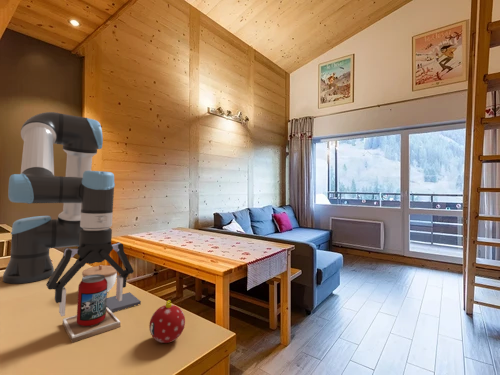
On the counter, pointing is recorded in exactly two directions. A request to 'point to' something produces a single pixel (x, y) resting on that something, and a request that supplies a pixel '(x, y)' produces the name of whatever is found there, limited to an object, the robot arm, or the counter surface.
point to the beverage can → (92, 300)
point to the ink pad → (122, 302)
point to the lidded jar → (103, 270)
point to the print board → (83, 332)
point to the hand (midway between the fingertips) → (92, 306)
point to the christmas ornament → (167, 323)
